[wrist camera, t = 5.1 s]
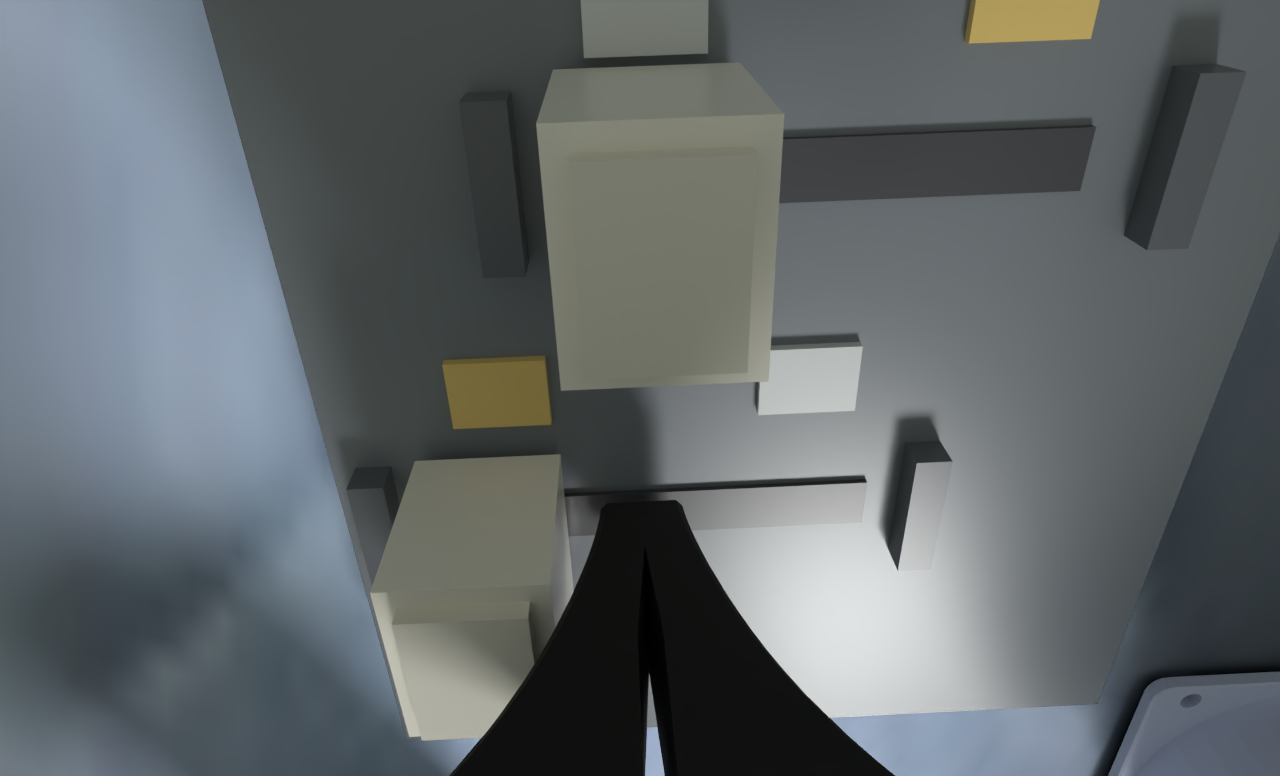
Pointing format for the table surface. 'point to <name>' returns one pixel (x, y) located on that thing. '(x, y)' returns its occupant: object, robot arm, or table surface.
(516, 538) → the knob far
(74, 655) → the table surface
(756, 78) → the switch unit
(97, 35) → the table surface
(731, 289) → the knob near
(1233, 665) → the table surface
